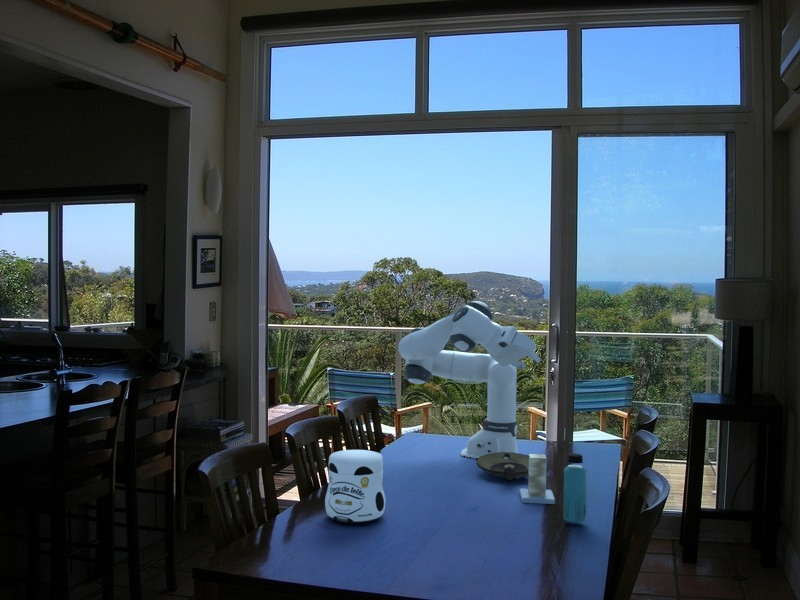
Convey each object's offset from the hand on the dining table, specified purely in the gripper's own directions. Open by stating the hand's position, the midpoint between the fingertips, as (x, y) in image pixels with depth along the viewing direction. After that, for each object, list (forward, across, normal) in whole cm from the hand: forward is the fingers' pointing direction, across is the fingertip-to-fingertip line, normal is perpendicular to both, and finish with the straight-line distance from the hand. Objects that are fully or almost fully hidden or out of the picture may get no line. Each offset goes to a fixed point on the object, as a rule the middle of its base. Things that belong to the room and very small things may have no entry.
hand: (531, 364), depth 237 cm
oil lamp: (+20, -30, -26) cm, 45 cm away
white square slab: (+23, -5, -35) cm, 43 cm away
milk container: (-25, -5, -72) cm, 76 cm away
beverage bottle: (+26, +17, -44) cm, 54 cm away
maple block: (+22, -5, -34) cm, 41 cm away
